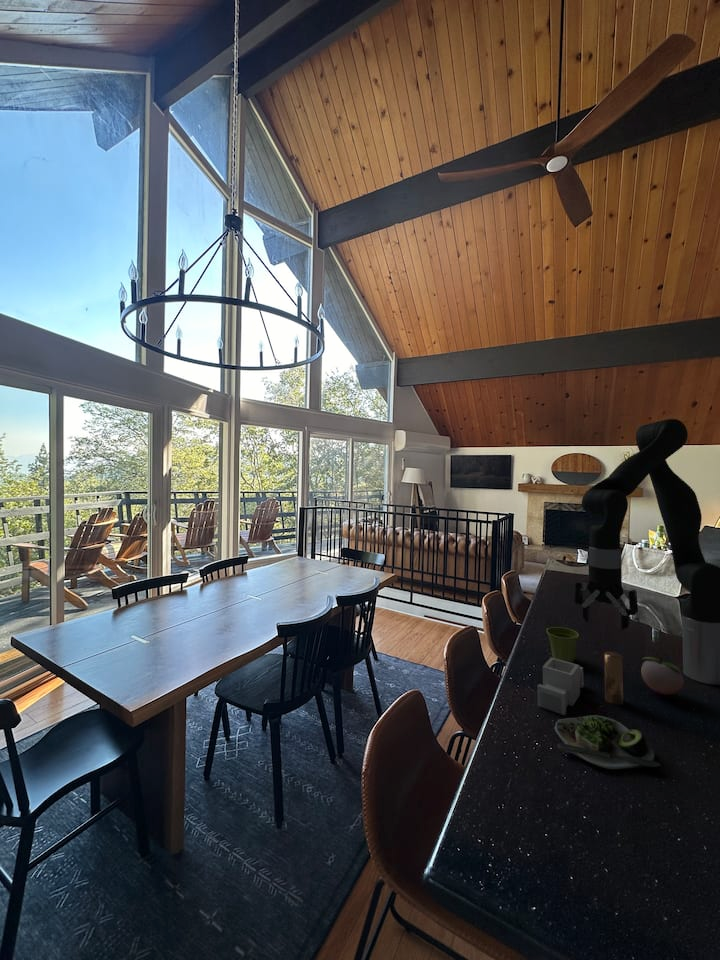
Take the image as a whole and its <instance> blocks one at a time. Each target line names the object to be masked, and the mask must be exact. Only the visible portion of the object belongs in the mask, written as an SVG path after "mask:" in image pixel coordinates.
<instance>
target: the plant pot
mask: <svg viewBox="0 0 720 960" xmlns="http://www.w3.org/2000/svg"><path fill="white" fill-rule="evenodd" d="M545 632H546V634H547V635H548V638H549V643H550V649H551V656H552V658H555V659H559V660H563V661H566V662H570V663H573V662H574V661H575V655H576V653H575V652H576V646H577V645H576V644H577V641H578V638H579V637H580V634H579V633H578V632H577V631H576V630H574V629H571V628H569V627H568V628H567V627H563V626H562V627H561V626H560V627H559V626H554V627H553V626H552V627H548V628H546V631H545Z"/></svg>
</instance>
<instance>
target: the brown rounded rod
mask: <svg viewBox="0 0 720 960" xmlns="http://www.w3.org/2000/svg"><path fill="white" fill-rule="evenodd" d="M603 659H604V660H603V661H604V662H603V663H604V666H603V667H604V669H603V670H604V671H603V672H604V699H605V701H606V702H608V703H609V704H611V705H614V706H622V705H624V687H623V686H624V685H623V683H624V682H623V681H624V680H623V676H624V675H623V655H622V654H620V653H618V652H616V651H615V652H614V651H604V653H603Z"/></svg>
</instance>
